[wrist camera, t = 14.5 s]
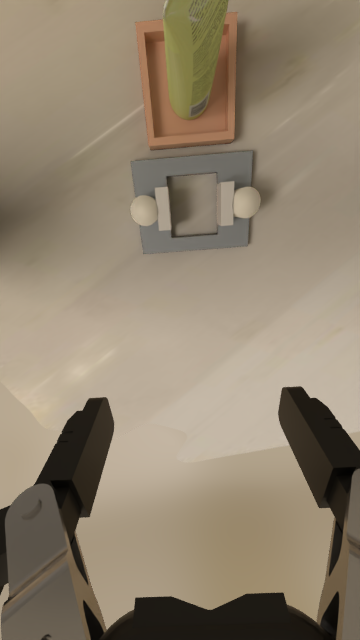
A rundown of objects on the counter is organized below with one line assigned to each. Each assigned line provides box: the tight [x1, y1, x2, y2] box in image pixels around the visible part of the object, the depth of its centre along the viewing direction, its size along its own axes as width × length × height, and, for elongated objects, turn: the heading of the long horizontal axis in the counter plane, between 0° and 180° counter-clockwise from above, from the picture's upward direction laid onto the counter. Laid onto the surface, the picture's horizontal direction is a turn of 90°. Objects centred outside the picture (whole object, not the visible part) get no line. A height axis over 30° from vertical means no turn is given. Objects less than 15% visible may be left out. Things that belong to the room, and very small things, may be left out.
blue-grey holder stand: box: [130, 151, 261, 254], centre depth 32 cm, size 17×12×5 cm
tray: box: [135, 12, 237, 150], centre depth 28 cm, size 11×11×2 cm
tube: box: [163, 0, 228, 120], centre depth 19 cm, size 6×5×20 cm
